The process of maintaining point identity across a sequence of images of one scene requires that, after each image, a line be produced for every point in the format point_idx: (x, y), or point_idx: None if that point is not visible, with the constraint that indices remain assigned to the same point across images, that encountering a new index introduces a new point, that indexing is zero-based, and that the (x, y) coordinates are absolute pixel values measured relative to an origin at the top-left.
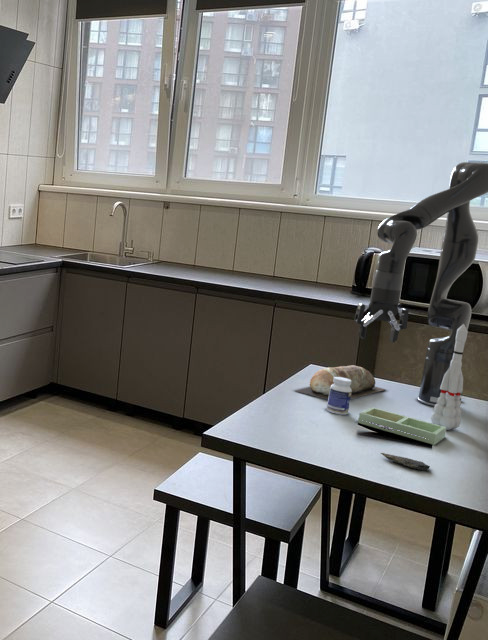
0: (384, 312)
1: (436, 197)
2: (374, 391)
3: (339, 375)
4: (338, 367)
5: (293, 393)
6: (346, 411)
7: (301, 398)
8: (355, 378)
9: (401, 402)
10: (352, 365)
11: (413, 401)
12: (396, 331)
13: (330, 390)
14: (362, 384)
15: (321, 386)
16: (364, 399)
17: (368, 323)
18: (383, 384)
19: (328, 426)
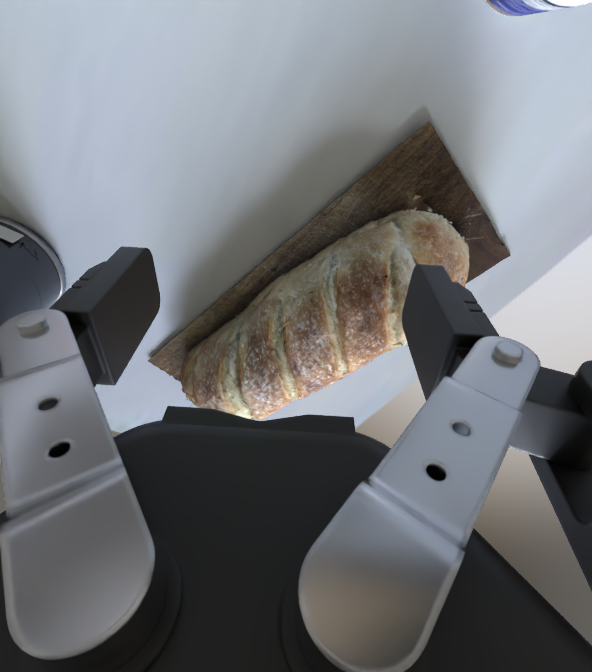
0: (222, 586)
1: None
2: (194, 330)
3: (386, 270)
4: (340, 360)
5: (539, 223)
6: None
7: (555, 158)
8: (288, 306)
9: (130, 242)
10: (258, 405)
11: (83, 269)
12: (69, 304)
13: None
14: (247, 316)
15: (455, 231)
16: (266, 235)
17: (469, 369)
18: (139, 408)
19: None
